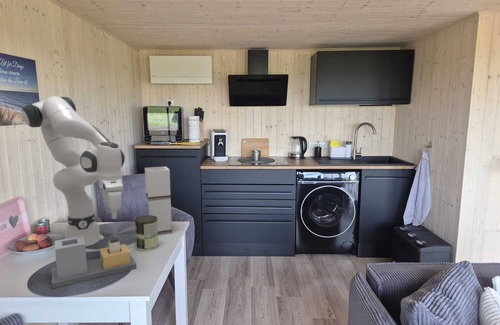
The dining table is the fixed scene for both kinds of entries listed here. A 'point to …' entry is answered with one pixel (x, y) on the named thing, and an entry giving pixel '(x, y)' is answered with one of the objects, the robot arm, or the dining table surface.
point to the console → (86, 262)
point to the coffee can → (146, 232)
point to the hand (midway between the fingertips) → (111, 215)
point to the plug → (114, 245)
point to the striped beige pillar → (159, 197)
